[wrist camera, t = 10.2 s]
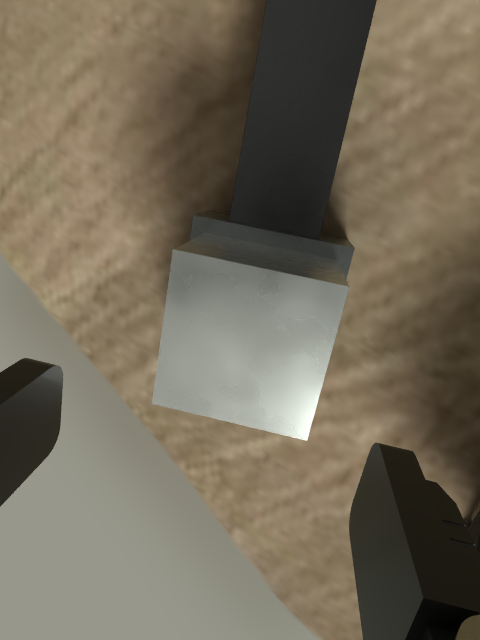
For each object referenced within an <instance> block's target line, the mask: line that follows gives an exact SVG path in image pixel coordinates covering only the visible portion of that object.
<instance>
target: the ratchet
mask: <svg viewBox="0 0 480 640" xmlns="http://www.w3.org/2000/svg"><path fill="white" fill-rule="evenodd" d="M376 1H377V0H267V3H266V9H265V15H264V20H263V26H262V32H261V38H260V44H259V49H258V55H257V61H256V67H255V73H254V79H253V84H252V90H251V96H250V102H249V108H248V113H247V119H246V125H245V131H244V137H243V142H242V148H241V154H240V160H239V166H238V171H237V177H236V183H235V189H234V195H233V200H232V206H231V212H230V215H226V214H221V213H216V212H211V211H205V212H202V213H199V214H195V215H193V221H192V227H191V234H190V240H192V239H194V238H196V237H198V236H200V235H202V234H203V233H205V232H206V233H210V234H215V235H220V236H225V237H230V238H235V239H239V240H244V241H249V242H254V243H259V244H263V245H268V246H273V247H278V248H283V249H287V250H292V251H297V252H302V253H307V254H311V255H316V256H321V257H326V258H331V259H335V260H338V262H339V264H340V267H341V269H342V271H343V273H344V276H345V278H347V274H348V270H349V267H350V263H351V259H352V255H353V252H354V247H353V245H352V244H351V243H350V242H349V240H348V239H344V238H339V237H334V236H329V235H325V234H320V232H321V228H322V224H323V220H324V216H325V212H326V208H327V203H328V199H329V195H330V191H331V187H332V183H333V179H334V174H335V170H336V166H337V162H338V158H339V154H340V150H341V146H342V141H343V137H344V133H345V129H346V125H347V121H348V117H349V112H350V108H351V104H352V100H353V96H354V92H355V88H356V84H357V79H358V75H359V71H360V67H361V63H362V59H363V55H364V50H365V46H366V42H367V38H368V34H369V30H370V26H371V22H372V17H373V13H374V9H375V5H376Z"/></svg>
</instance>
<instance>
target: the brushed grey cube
mask: <svg viewBox="0 0 480 640" xmlns="http://www.w3.org/2000/svg"><path fill="white" fill-rule="evenodd" d="M348 290H349V285H348V282H347V280H346V278H345V276H344V273H343V271H342V269H341V267H340V264H339V262H338V260H335V259H331V258H326V257H321V256H316V255H311V254H307V253H302V252H297V251H292V250H287V249H283V248H278V247H273V246H268V245H263V244H259V243H254V242H249V241H244V240H239V239H235V238H230V237H225V236H220V235H215V234H210V233H206V232H205V233H203V234H202V235H200V236H198V237H196V238H194V239H192V240H190V241H188V242H186V243H184V244H182V245H180V246H178V247H176V248H174V249H173V252H172V260H171V267H170V275H169V282H168V289H167V297H166V304H165V312H164V319H163V327H162V334H161V341H160V349H159V356H158V364H157V371H156V379H155V386H154V393H153V401H152V404H156V405H160V406H164V407H169V408H173V409H177V410H181V411H185V412H189V413H194V414H198V415H202V416H206V417H210V418H214V419H219V420H223V421H227V422H231V423H235V424H239V425H244V426H248V427H252V428H256V429H260V430H264V431H269V432H273V433H277V434H281V435H285V436H289V437H294V438H298V439H302V440H306V441H307V439H308V435H309V431H310V428H311V424H312V421H313V417H314V413H315V410H316V406H317V402H318V399H319V395H320V392H321V388H322V384H323V381H324V377H325V373H326V370H327V366H328V363H329V359H330V355H331V352H332V348H333V344H334V341H335V337H336V334H337V330H338V326H339V323H340V319H341V315H342V312H343V308H344V305H345V301H346V297H347V294H348Z"/></svg>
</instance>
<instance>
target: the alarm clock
mask: <svg viewBox="0 0 480 640" xmlns="http://www.w3.org/2000/svg"><path fill="white" fill-rule="evenodd" d="M466 530H469V532H470V534H471V536H472V539H473V541H474V543H475V549H477V550H478V551H479V553H480V511H479V512H478V513H477V515H476V516H475V518H474V519H473V521H472V523H471V524H470V525H467V526H466Z"/></svg>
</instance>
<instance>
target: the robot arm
mask: <svg viewBox="0 0 480 640" xmlns="http://www.w3.org/2000/svg"><path fill="white" fill-rule="evenodd" d="M62 388H63V372H62V369H61V367H60V366H57V365H53V364H49V363H45V362H41V361H37V360H33V359H28V358H24V359H21V360H20V361H18V362H16V363H15V364H13V365H12V366H10V367H8V368H7V369H5V370H4V371H2V372H0V506H1V505H2V504H3V503H4V502H5V501H6V500H7V499H8V498H9V497H10V496H11V495H12V494H13V493H14V491H15V490H16V489H17V488H18V487H19V486H20V485H21V484H22V483H23V482H24V481H25V480H26V479H27V478H28V476H29V475H30V474H31V473H32V472H33V471H34V470H35V469H36V468H37V467H38V466H39V465H40V464H41V463H42V462H43V460H44V459H45V458H46V457H47V456H48V455H49V454H50V452H51V451H52V449H53V447H54V445H55V443H56V441H57V438H58V435H59V430H60V421H61V405H62ZM349 533H350V542H351V549H352V557H353V565H354V572H355V580H356V588H357V595H358V603H359V611H360V618H361V626H362V634H363V640H480V553H479V551H478V550H477V549H475V543H474V541H473V539H472V536H471V534H470V532H469V530H466V524H465V522H464V520H463V517H462V515H461V513H460V511H459V509H458V507H457V505H456V503H455V502H454V501H453V500H452V499H451V498H450V497H449V495H448V494H447V493H446V492H445V491H444V490H443V489H442V488H441V487H440V486H439V485H438V484H437V483H436V482H432V481H428V480H425V478H424V475H423V473H422V470H421V468H420V465H419V463H418V461H417V458H416V456H415V454H414V452H412V451H409V450H405V449H401V448H397V447H393V446H388V445H384V444H380V443H375V444H374V445H373V446H372V448H371V450H370V452H369V455H368V458H367V461H366V464H365V467H364V470H363V473H362V476H361V479H360V482H359V485H358V488H357V491H356V494H355V497H354V500H353V503H352V507H351V513H350V522H349Z"/></svg>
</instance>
